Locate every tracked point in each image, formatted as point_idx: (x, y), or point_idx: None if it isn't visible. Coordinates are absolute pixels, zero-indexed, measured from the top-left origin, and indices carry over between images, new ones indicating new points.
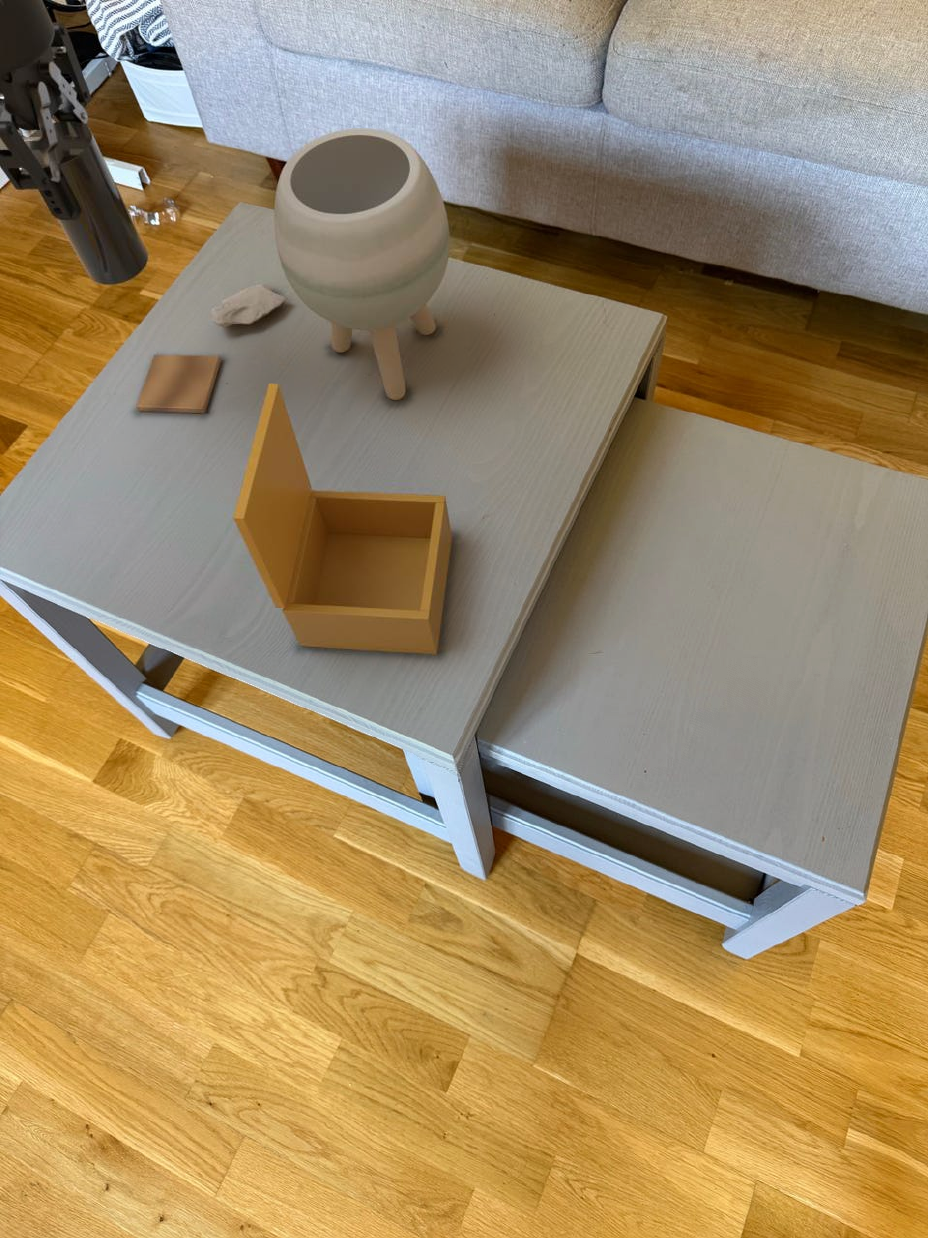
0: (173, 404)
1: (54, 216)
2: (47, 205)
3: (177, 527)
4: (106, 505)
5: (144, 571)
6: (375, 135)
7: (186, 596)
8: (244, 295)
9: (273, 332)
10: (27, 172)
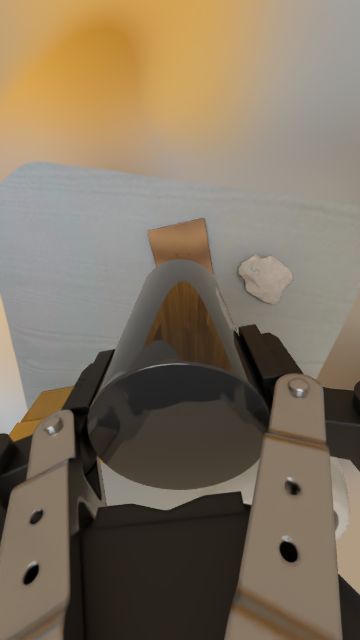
0: (158, 261)
1: (87, 367)
2: (76, 384)
3: (70, 306)
4: (61, 250)
5: (33, 301)
6: (336, 531)
7: (33, 331)
8: (270, 281)
9: (246, 299)
10: (2, 493)
